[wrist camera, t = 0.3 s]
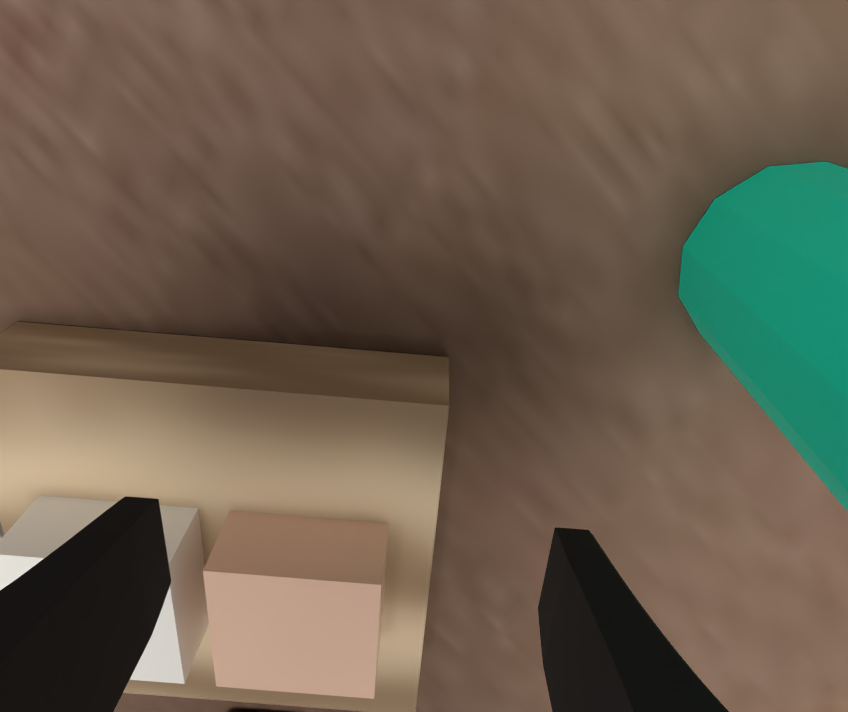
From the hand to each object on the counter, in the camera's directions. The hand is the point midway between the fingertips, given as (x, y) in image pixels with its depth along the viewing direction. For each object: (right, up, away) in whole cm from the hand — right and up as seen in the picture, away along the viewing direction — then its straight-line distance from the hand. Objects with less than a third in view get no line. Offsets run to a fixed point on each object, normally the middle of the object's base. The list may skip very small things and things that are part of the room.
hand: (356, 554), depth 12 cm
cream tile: (-9, -3, +9) cm, 13 cm away
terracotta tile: (-3, -4, +9) cm, 10 cm away
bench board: (-5, -2, +12) cm, 13 cm away
